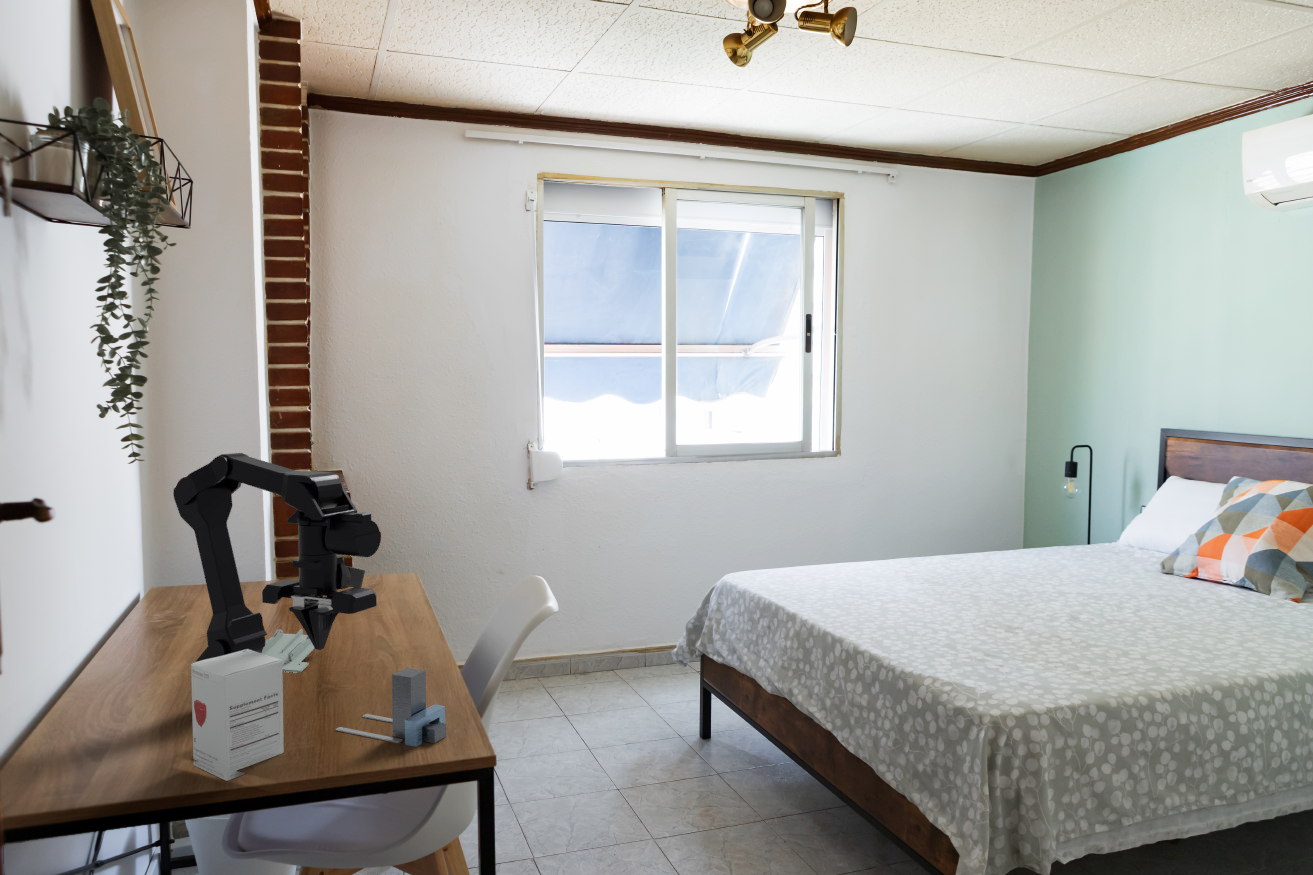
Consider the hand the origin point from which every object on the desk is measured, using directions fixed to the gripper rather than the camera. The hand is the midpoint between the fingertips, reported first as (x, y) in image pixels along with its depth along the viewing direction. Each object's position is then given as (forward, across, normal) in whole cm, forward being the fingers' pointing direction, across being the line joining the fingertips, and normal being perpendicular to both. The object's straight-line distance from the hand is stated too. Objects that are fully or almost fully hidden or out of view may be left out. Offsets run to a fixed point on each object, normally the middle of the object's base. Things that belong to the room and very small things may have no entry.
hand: (319, 649), depth 140 cm
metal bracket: (+13, +31, -22) cm, 40 cm away
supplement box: (+12, 0, +16) cm, 20 cm away
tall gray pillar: (+11, -19, 0) cm, 22 cm away
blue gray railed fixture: (+12, -14, 0) cm, 18 cm away
